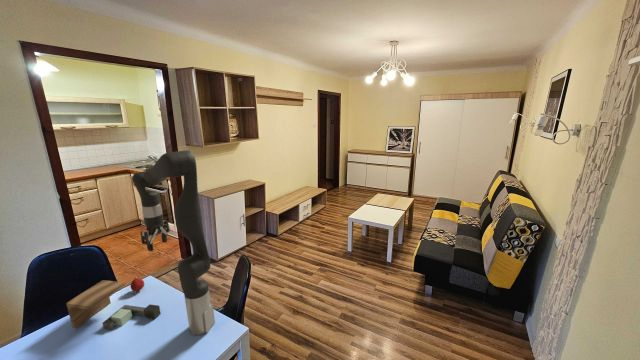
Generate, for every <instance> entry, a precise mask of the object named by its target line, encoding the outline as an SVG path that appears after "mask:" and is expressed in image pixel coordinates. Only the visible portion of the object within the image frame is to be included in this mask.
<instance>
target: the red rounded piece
mask: <svg viewBox="0 0 640 360" xmlns="http://www.w3.org/2000/svg"><path fill="white" fill-rule="evenodd" d="M144 287H145V281H144V279H142V278H139V277H138V276H136V277H135V278H134V279H133V280H132V281H131V282H130V289H131V290H132V291H133V292H140V291H141V290H142V289H143V288H144Z"/></svg>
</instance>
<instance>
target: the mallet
mask: <svg viewBox="0 0 640 360" xmlns="http://www.w3.org/2000/svg"><path fill="white" fill-rule="evenodd" d="M120 309H126V310H131V313H132V316H139V317H144V318H145V319H149V320H156V319H158V317H159V316H160V315H161V309H160V305H156V304H148V305H147V306H146V307H143V306H138V305H137V306H136V305H129V304H124V305H123V306H122V307H120V308H119V309H117V310H116V311H115V312H114V313H112V315H110V316H109V317H108V318H106V319H105V320H104V321H103V322H101V323H102V327H103V329H104V330H108V331H112V330H115V328H116V325H114V321H112V320H111V317H112V316H113V315H114V314H115V313H117V312H118V311H119V310H120Z"/></svg>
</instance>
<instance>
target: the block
mask: <svg viewBox="0 0 640 360" xmlns="http://www.w3.org/2000/svg"><path fill="white" fill-rule="evenodd" d="M119 309H120V308H119ZM119 309H118V310H119ZM118 310H117V311H118ZM117 311H116V312H117ZM114 313H115V312H114ZM114 313H113V314H114ZM113 314H112V315H113ZM112 315H111V316H112ZM131 319H133V315H132V313H131V310H126V309H120V310H119V311H118V312H117V313H115V314H114V315H113V316H112V317H111V320H112V321H114V325H115V326H120V327H123V326H124V325H125V324H127V323H128V322H129V321H131Z"/></svg>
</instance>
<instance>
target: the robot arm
mask: <svg viewBox="0 0 640 360" xmlns="http://www.w3.org/2000/svg"><path fill="white" fill-rule="evenodd" d="M197 171H198V169H197V162H196V157H195V155H194V152H192V151H190V150H187V149H186V150H179V151H178V150H177V151H168V152H165V153H164V154H162V155H160V157H159V158H158V159H157V161H156V162H155V163H154V164H153V166H151V167H149V168H147V169H145V171H144V170H143V171H137V172H135V173H134V174H133V175H132V178H131V180H132V183H133V185H134V187H135V188H136V190H137V192H138V195H139V198H140V202H141V203H140V204H141V211H142V212H141V213H142V216H143V222H144V223H143V224H144V226H145V227H146V230H144V231H143V230H142V231H141V232H140V240H141V244H142V245H146V248H147V249H146V250H147V251H148V252H154V250H155V249H154V243H153V242H154V240H155V238H156V236H158V235H160V236H161V237H160V238H161V242H162V243H167V242H168V233H169V232H170V231H171V229H170V226H169V225H170V224H169V220H166V219H165V220H164V214H163V208H162V204H161V200H160V193H159V192H158V191H157V190H147V189H146V188H150V187H154V186H158V185H160V184H161V183H163V182H164V181H165V180H166V179H168V178H169V179H170V178H172V179H173V178H180V177H183V187H182V191H181V193H180V196H179V198H178V199H177V201H176V204H175V206H174V211H173V213H174V221H175V226H176V229H177V231H178V232H179V233H180V234H181V235H182V236H183V237H184V238H186V239H187V240H188V241H189V242H190V245H191V248H192V254H191V255H189V256H188V257H185V258H184V259H183V260H181V261H179V262H178V266H177V272H178V276H179V277H178V278H179V281H180V286H181V290H182V292H183V295H184V301H185V302H184V304H185V310H186V314H187V322H188V323H187V324H188V329H189V333H190V334H191V335H194V336H199V335H200V336H201V335H203V334H208V333H209V331H210V330H211V329H212V327H213V326H214V324H215V323H216V320H215V319H216V318H215V311H214V304H213V303H211V297H210V288H209V282H208V281H206V280H205V279H199V278H201V277H202V276H204V275H205V274H206V273H208V271H210V269H211V259H210V255H209V251H208V247H207V243H206V239H205V238H206V237H205V233H204V226H203V217H202V210H201V205H200V198H199V190H198V189H199V188H198V172H197Z"/></svg>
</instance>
